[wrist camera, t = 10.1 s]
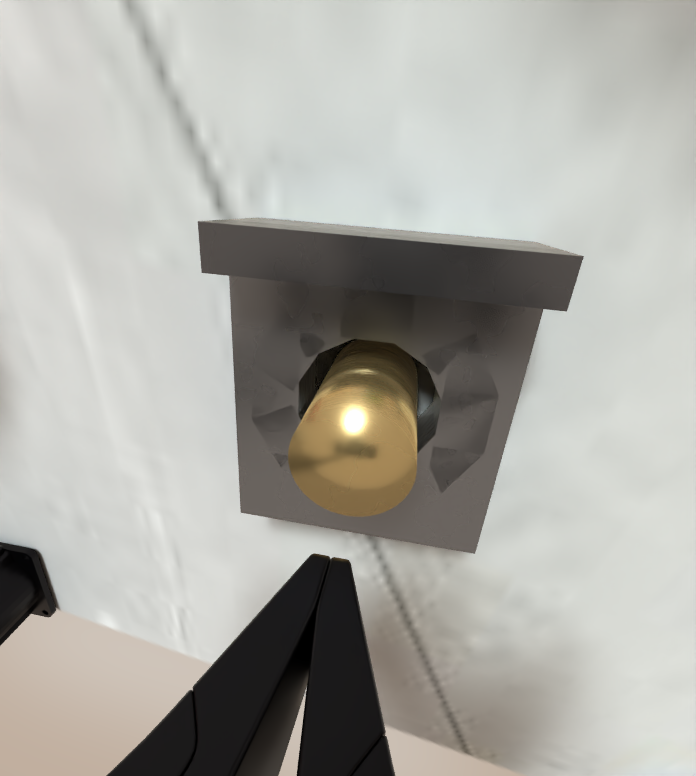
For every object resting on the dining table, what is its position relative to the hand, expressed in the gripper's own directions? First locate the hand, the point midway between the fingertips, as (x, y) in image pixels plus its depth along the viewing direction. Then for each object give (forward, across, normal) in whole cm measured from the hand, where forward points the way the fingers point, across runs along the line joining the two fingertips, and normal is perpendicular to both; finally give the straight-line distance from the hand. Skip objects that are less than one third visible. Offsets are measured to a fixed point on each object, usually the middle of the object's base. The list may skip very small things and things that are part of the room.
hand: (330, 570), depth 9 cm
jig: (+11, 0, 0) cm, 11 cm away
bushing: (+11, 0, 0) cm, 11 cm away
